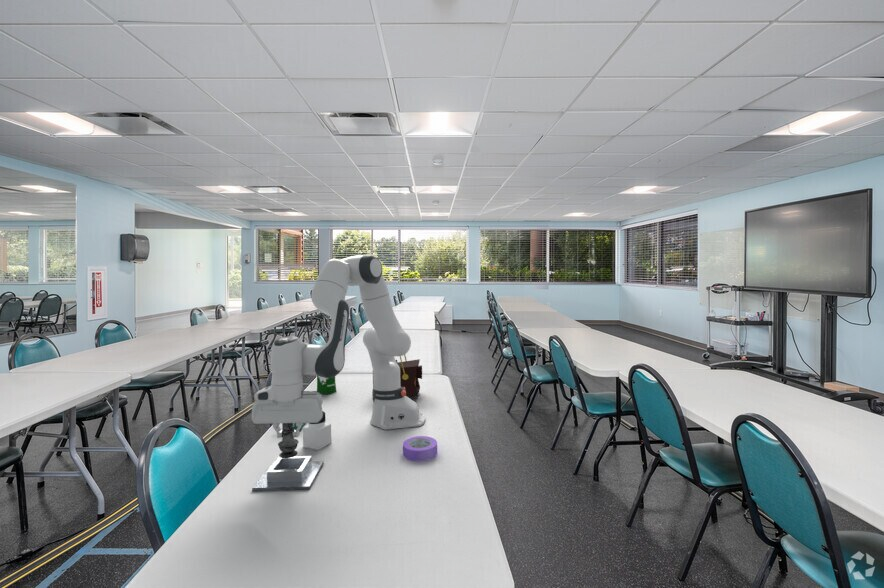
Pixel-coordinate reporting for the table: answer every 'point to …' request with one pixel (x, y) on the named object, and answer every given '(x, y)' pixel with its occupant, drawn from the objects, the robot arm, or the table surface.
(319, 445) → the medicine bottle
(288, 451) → the chess piece
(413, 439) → the masking tape
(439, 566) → the table surface
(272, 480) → the plate
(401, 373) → the dark brown boxy piece
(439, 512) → the table surface
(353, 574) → the table surface
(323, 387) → the milk carton
